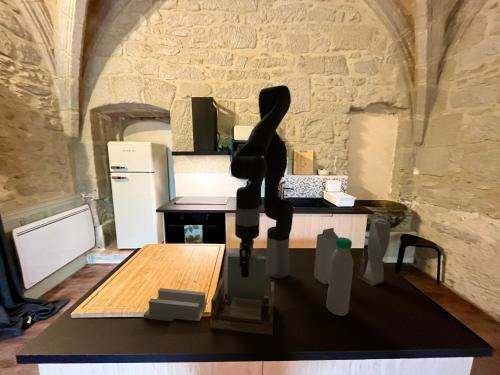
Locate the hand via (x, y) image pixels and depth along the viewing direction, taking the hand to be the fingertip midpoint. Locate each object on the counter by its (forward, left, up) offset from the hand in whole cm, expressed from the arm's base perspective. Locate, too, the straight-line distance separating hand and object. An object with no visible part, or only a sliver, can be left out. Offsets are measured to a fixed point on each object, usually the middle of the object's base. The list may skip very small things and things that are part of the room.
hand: (246, 271), depth 70 cm
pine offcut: (+3, +5, -10) cm, 12 cm away
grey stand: (+19, -12, -14) cm, 26 cm away
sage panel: (0, 0, -13) cm, 13 cm away
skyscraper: (-55, +13, -14) cm, 58 cm away
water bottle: (-27, +16, -14) cm, 34 cm away
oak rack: (+2, +2, -14) cm, 14 cm away
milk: (-38, +2, -14) cm, 40 cm away
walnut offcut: (+4, +5, -13) cm, 14 cm away
